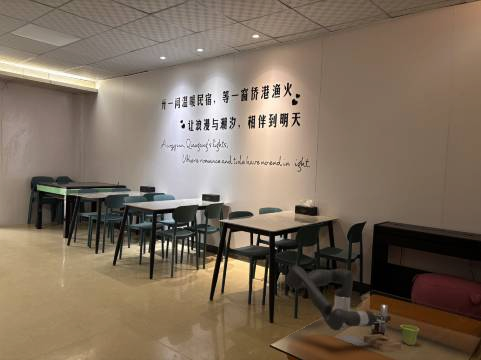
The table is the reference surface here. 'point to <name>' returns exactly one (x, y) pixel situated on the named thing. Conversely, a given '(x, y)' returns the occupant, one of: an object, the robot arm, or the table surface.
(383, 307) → the steel pin
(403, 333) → the plant pot
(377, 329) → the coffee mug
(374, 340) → the socket block
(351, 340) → the mat
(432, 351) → the table surface
